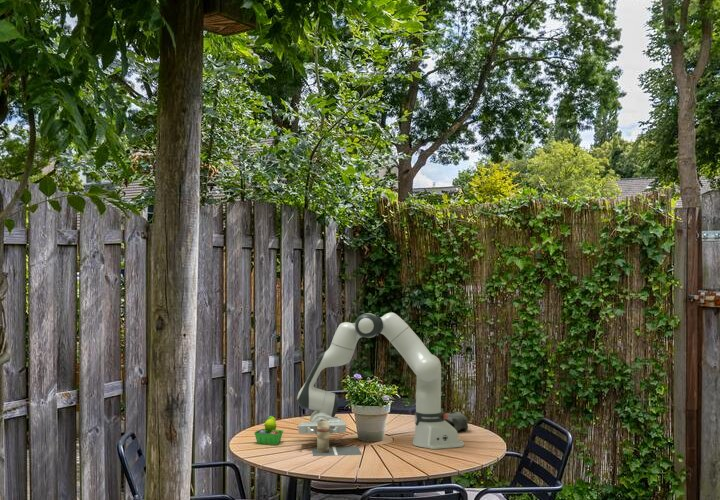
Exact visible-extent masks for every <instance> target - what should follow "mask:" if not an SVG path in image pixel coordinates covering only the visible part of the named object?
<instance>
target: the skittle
mask: <svg viewBox="0 0 720 500" xmlns="http://www.w3.org/2000/svg"><path fill="white" fill-rule="evenodd" d="M329 429H330V428H329V421H318V422H317V435H316V439H317V441H316V447H317V452H319V453H327V452H329V447H330V434H329Z"/></svg>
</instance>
